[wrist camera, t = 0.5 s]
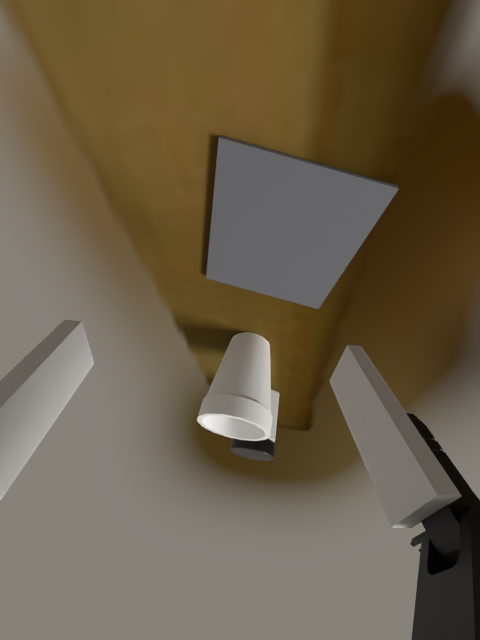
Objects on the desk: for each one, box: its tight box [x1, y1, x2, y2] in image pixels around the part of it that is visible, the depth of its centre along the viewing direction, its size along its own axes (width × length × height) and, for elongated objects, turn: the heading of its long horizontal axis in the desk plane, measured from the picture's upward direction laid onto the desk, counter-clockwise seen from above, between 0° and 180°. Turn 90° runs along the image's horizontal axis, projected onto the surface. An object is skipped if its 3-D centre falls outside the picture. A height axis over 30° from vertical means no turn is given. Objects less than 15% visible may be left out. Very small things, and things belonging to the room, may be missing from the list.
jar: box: [230, 389, 279, 461], centre depth 48 cm, size 9×8×12 cm
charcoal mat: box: [206, 135, 399, 309], centre depth 23 cm, size 14×14×1 cm
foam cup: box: [197, 332, 273, 441], centre depth 34 cm, size 10×9×13 cm
